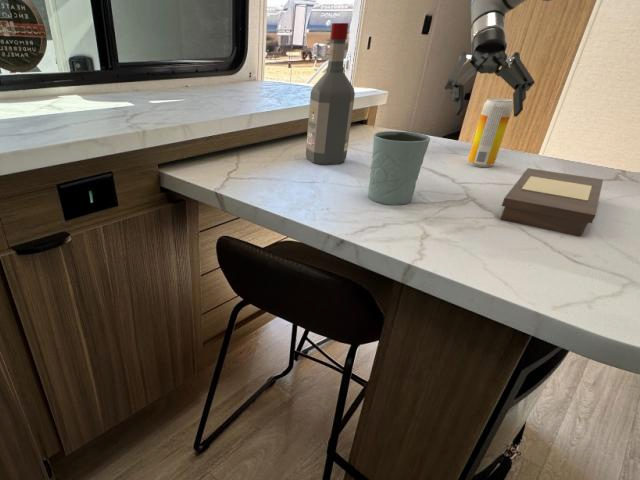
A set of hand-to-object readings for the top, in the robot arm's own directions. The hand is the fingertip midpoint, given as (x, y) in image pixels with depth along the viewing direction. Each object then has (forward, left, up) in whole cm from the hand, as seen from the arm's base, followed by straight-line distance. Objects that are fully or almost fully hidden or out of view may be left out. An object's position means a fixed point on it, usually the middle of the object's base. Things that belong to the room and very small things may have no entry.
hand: (488, 112), depth 102 cm
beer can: (-1, +4, -12) cm, 12 cm away
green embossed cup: (+20, +37, -12) cm, 44 cm away
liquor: (+37, +12, -12) cm, 41 cm away
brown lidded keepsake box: (-9, +34, -12) cm, 37 cm away
